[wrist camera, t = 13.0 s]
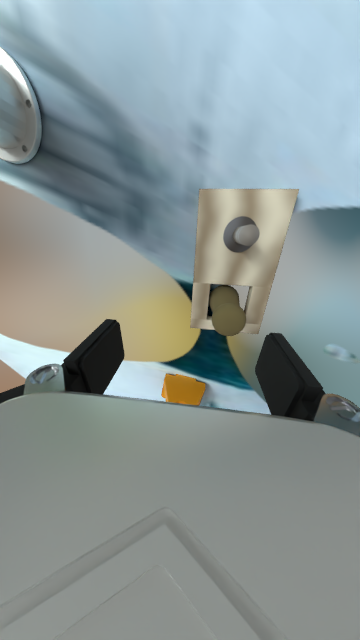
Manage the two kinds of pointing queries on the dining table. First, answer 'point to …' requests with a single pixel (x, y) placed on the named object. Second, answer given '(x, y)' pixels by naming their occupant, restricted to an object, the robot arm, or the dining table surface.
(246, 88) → the dining table surface
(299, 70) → the dining table surface
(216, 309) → the olive rounded piece
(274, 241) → the beige panel with knob
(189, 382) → the bracket
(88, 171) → the dining table surface
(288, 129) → the dining table surface
